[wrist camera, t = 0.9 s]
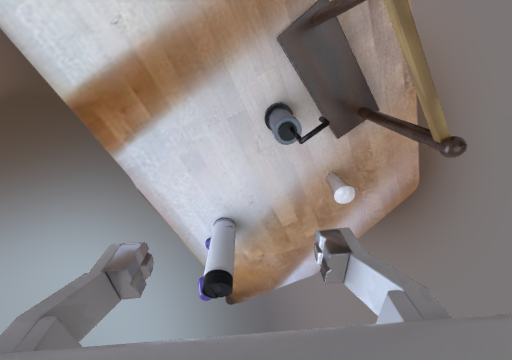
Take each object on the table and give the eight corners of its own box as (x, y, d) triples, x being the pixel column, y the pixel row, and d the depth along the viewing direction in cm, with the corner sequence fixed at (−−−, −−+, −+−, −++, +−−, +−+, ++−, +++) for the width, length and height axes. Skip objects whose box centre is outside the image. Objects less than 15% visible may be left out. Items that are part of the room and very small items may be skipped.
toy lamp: (217, 235, 61) (209, 288, 46) (225, 245, 63) (219, 300, 49) (202, 240, 62) (190, 295, 47) (210, 250, 64) (201, 306, 49)
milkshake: (346, 174, 54) (366, 195, 45) (330, 188, 56) (347, 211, 47) (334, 164, 52) (353, 184, 43) (318, 179, 54) (333, 201, 45)
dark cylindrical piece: (275, 136, 48) (290, 172, 32) (259, 115, 46) (267, 142, 30) (306, 112, 46) (340, 138, 30) (291, 89, 44) (319, 103, 27)
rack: (335, 137, 49) (409, 194, 27) (276, 38, 39) (316, 5, 18) (376, 109, 46) (492, 148, 25) (323, -4, 37) (438, -103, 15)
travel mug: (232, 214, 58) (227, 279, 40) (238, 232, 61) (236, 300, 43) (210, 219, 58) (195, 285, 41) (217, 236, 61) (206, 305, 44)
